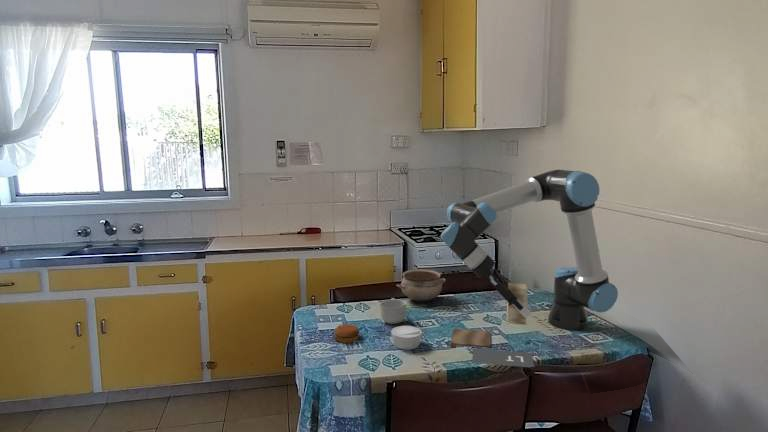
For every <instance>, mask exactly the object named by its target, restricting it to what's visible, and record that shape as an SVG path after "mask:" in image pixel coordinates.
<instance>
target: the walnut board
mask: <svg viewBox="0 0 768 432" xmlns="http://www.w3.org/2000/svg"><path fill="white" fill-rule="evenodd" d="M457 346H466V347H467V346H468V347H479V348H491V331H487V330H476V329H475V330H473V329H461V328H460V329H459V328H453V329H452V335H451V340H450V348H457Z"/></svg>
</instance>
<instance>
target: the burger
mask: <svg viewBox="0 0 768 432" xmlns="http://www.w3.org/2000/svg"><path fill="white" fill-rule="evenodd" d="M359 335H360V329H359V327H358V326H356V325H355V324H347V323H346V324H344V323H343V324H339V325H338V326H337V327H335V329H334V335H333V337H334V339H335V340H336V341H337V342H340V343H342V344H347V343H348V344H349V343H353V342H356V341H358V339H359Z"/></svg>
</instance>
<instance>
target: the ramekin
mask: <svg viewBox="0 0 768 432" xmlns="http://www.w3.org/2000/svg"><path fill="white" fill-rule="evenodd" d="M390 331H391V332H390V334H391V337H392V343H393V346H395V348H398V349H400V350H414V349H417V348H418V347H419V346H420V344H421V338H422V336H423V335H422V334H423V332H422V329H421V328H418V327H417V326H412V325H400V326H396V327H393V328H392V329H391V330H390Z"/></svg>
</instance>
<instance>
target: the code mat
mask: <svg viewBox="0 0 768 432" xmlns="http://www.w3.org/2000/svg"><path fill="white" fill-rule="evenodd" d="M471 363H472V364H474V363H475V364H485V365H498V366H509V367H520V368H531V367H534V368H535V364H534V363H535V362H534V357H533V353H532V352H522V351H510V350H508V351H507V350H497V349H483V348H472V360H471Z"/></svg>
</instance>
